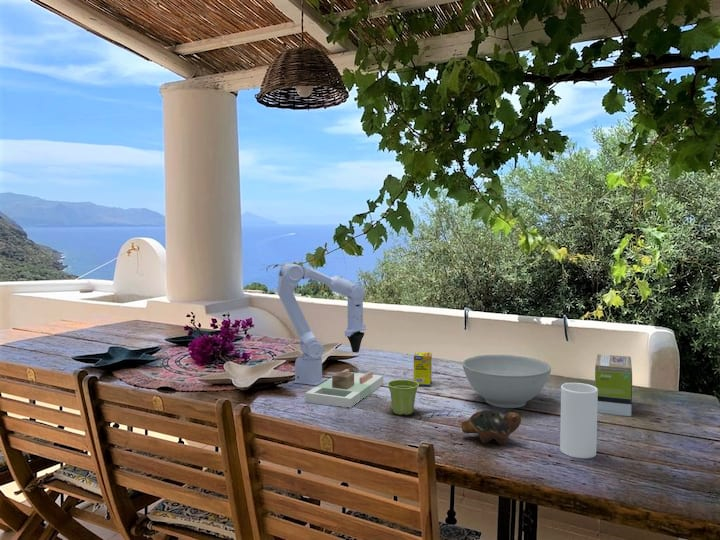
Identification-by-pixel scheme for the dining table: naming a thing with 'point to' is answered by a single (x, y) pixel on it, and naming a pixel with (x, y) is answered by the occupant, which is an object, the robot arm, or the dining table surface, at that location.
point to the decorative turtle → (492, 425)
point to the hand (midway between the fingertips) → (355, 352)
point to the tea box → (614, 384)
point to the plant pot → (403, 395)
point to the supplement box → (422, 368)
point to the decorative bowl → (506, 378)
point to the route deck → (344, 391)
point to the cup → (578, 420)
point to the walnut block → (343, 380)
